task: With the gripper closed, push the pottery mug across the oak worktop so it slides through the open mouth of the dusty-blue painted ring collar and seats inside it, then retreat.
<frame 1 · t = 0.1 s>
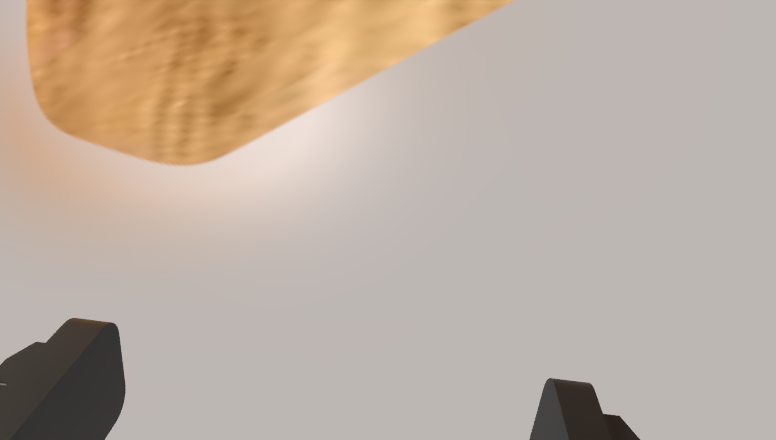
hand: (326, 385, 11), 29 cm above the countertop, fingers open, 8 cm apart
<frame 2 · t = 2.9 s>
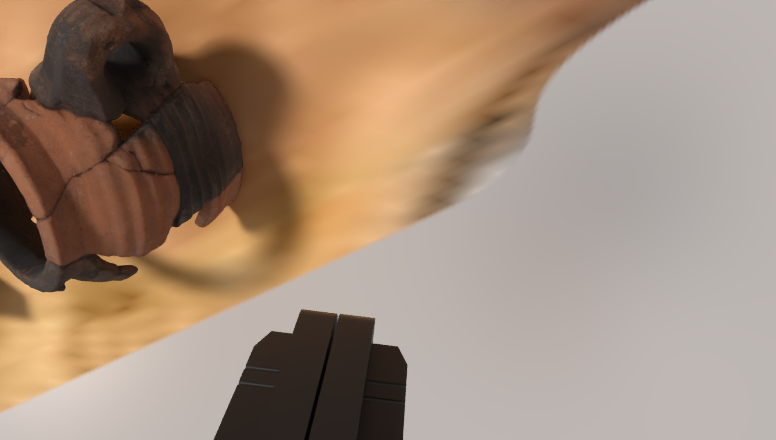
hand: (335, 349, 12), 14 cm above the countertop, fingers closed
pottery mug: (138, 118, 25), on the countertop
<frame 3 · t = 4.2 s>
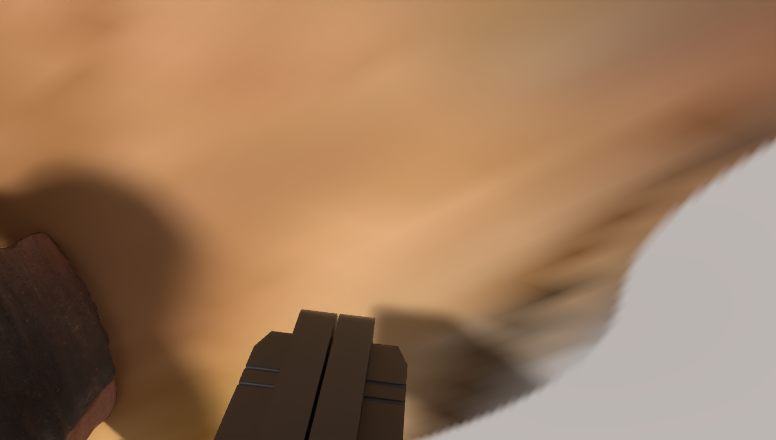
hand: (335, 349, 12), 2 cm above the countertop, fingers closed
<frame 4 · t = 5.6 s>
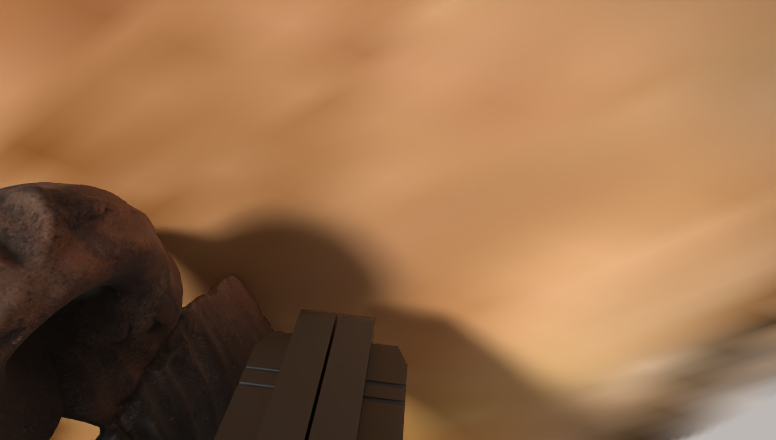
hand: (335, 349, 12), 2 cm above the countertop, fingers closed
pottery mug: (107, 323, 14), on the countertop, touching gripper
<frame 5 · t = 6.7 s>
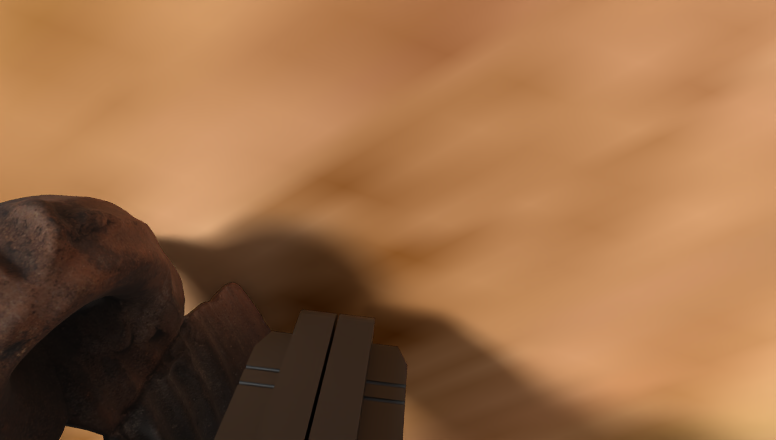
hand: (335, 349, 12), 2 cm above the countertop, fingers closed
pottery mug: (110, 330, 15), on the countertop, touching gripper
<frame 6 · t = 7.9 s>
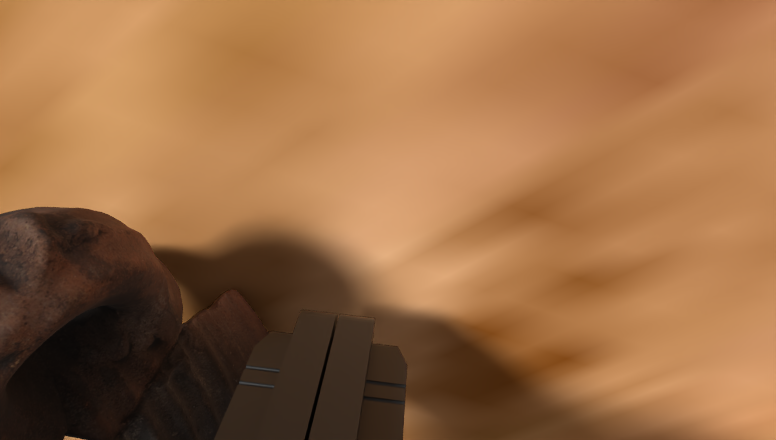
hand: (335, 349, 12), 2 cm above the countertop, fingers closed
pottery mug: (113, 340, 15), on the countertop, touching gripper
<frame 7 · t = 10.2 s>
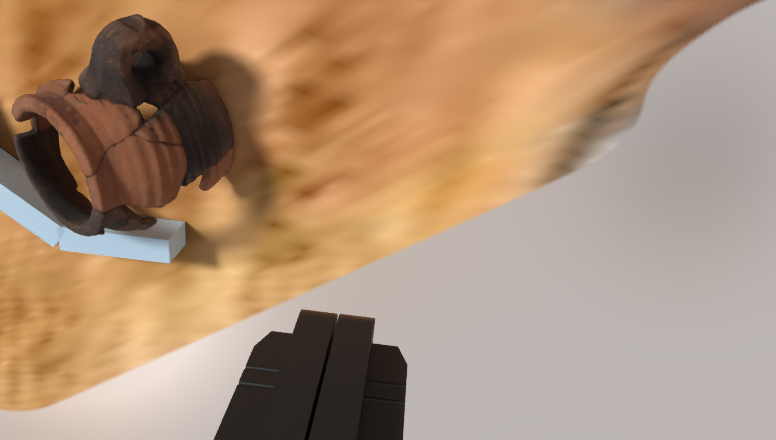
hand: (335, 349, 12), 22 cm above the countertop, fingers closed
collar: (119, 64, 32), on the countertop
pottery mug: (154, 111, 34), on the countertop
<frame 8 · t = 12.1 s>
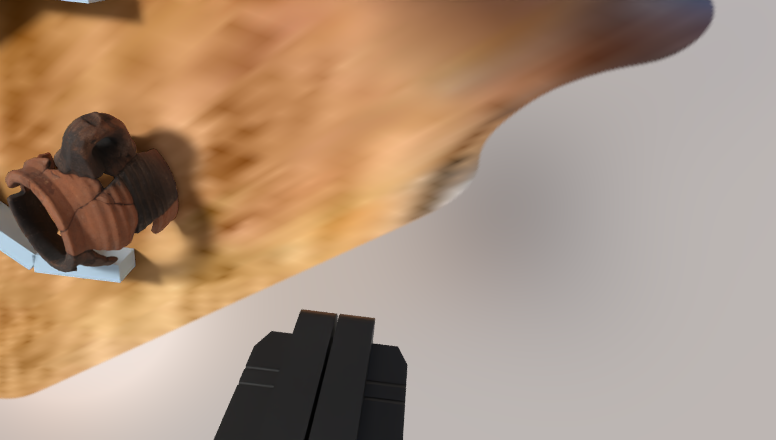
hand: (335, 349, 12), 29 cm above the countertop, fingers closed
collar: (77, 130, 42), on the countertop
pottery mug: (116, 171, 43), on the countertop
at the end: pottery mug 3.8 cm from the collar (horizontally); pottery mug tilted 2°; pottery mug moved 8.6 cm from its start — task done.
